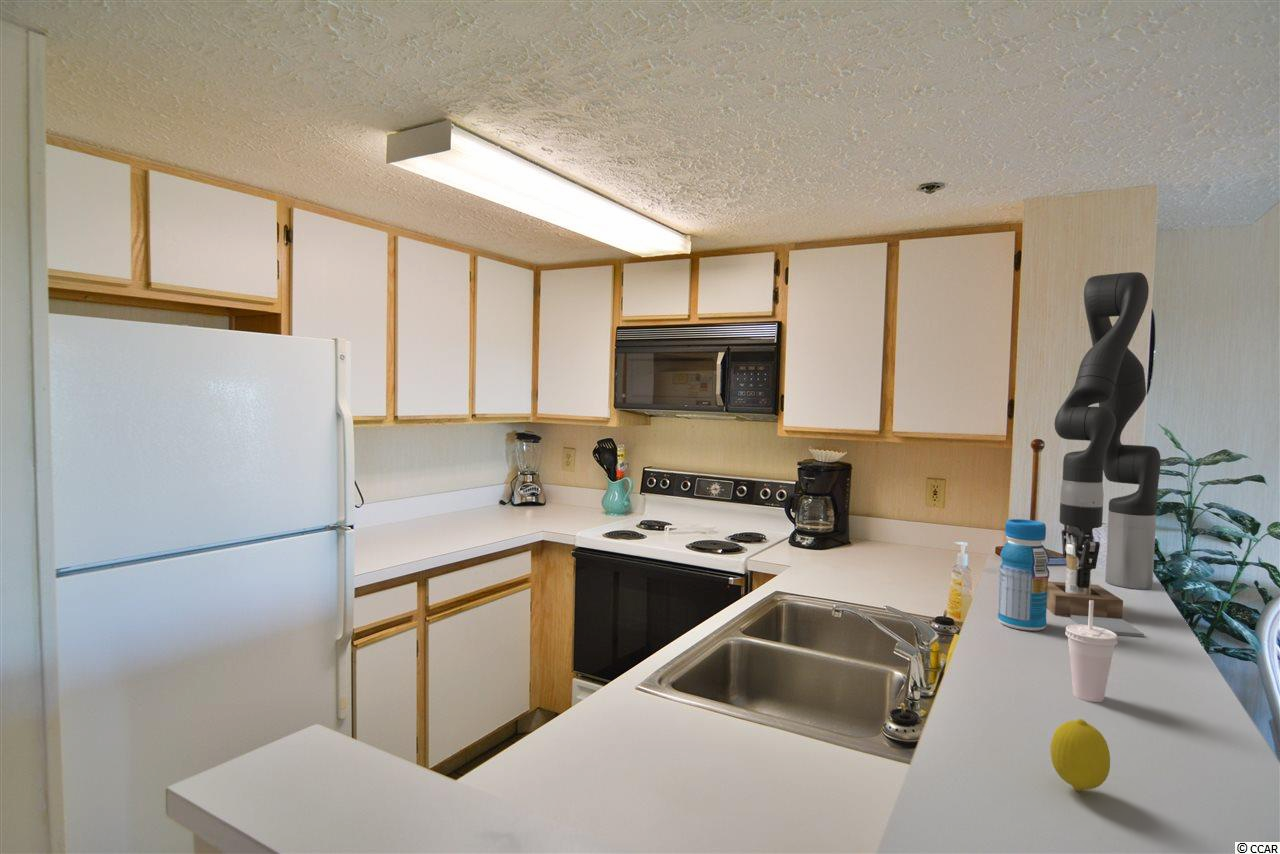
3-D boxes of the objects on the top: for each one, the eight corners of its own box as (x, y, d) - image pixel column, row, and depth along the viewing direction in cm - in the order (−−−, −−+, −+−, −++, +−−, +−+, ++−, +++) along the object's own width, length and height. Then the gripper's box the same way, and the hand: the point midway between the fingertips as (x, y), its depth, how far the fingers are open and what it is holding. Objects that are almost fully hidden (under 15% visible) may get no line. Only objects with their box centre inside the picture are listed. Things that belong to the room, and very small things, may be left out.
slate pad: (1070, 617, 138) (1070, 614, 138) (1121, 621, 136) (1121, 618, 136) (1088, 632, 129) (1088, 629, 129) (1143, 637, 127) (1143, 633, 127)
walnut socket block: (1035, 598, 151) (1036, 580, 151) (1097, 603, 148) (1097, 584, 148) (1054, 615, 139) (1055, 595, 139) (1122, 620, 137) (1123, 600, 136)
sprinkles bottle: (1093, 610, 143) (1096, 546, 143) (1083, 613, 141) (1086, 548, 140) (1070, 604, 147) (1072, 542, 146) (1059, 607, 145) (1062, 544, 144)
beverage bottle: (999, 628, 131) (1003, 523, 130) (994, 615, 138) (998, 516, 138) (1050, 634, 127) (1055, 527, 127) (1043, 621, 135) (1047, 520, 134)
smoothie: (1107, 691, 103) (1111, 598, 102) (1121, 709, 97) (1125, 610, 96) (1057, 684, 105) (1061, 593, 104) (1068, 702, 99) (1073, 605, 98)
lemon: (1038, 777, 78) (1040, 708, 78) (1083, 776, 79) (1086, 707, 79) (1072, 806, 73) (1075, 732, 73) (1121, 804, 73) (1124, 731, 73)
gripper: (1117, 508, 135) (1113, 595, 136) (1087, 498, 149) (1084, 577, 150) (1074, 506, 137) (1070, 592, 138) (1049, 497, 151) (1046, 574, 151)
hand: (1077, 583), depth 144 cm, fingers closed on sprinkles bottle, 4 cm apart
